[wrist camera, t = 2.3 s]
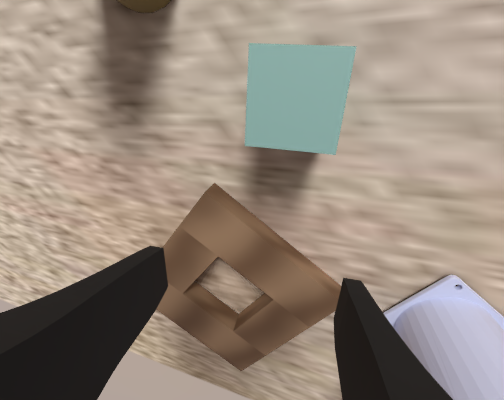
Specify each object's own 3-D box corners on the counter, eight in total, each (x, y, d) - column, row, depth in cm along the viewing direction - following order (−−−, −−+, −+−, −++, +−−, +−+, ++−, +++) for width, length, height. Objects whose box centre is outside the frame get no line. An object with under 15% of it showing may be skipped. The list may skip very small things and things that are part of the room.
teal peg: (337, 63, 15) (356, 46, 9) (326, 130, 17) (335, 154, 11) (273, 60, 16) (249, 43, 10) (268, 125, 18) (244, 145, 12)
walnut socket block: (342, 286, 22) (344, 304, 20) (245, 353, 28) (241, 371, 26) (214, 182, 20) (205, 192, 19) (142, 276, 26) (130, 289, 25)
